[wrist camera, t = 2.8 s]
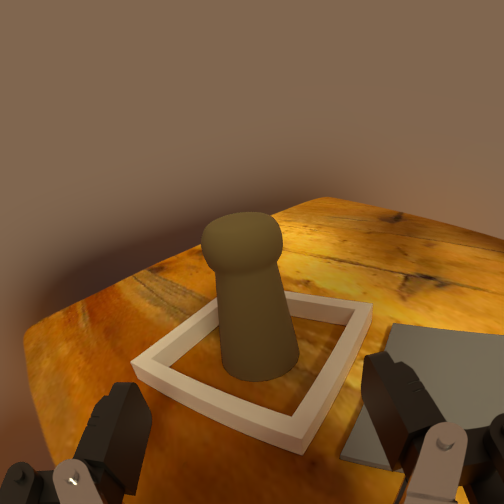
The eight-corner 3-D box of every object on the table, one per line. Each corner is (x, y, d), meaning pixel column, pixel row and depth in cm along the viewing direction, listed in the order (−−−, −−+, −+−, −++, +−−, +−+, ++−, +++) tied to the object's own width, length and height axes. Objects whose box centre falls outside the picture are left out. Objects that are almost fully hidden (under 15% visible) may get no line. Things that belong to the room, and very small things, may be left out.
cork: (310, 338, 24) (300, 203, 20) (280, 390, 19) (259, 232, 15) (245, 327, 27) (223, 205, 23) (207, 369, 22) (170, 231, 18)
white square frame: (238, 297, 32) (235, 282, 31) (371, 321, 24) (372, 303, 24) (138, 378, 21) (130, 361, 21) (302, 455, 14) (301, 439, 13)
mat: (392, 327, 23) (393, 322, 23) (528, 342, 16) (530, 337, 16) (339, 458, 13) (340, 454, 13) (542, 478, 6) (547, 474, 6)
